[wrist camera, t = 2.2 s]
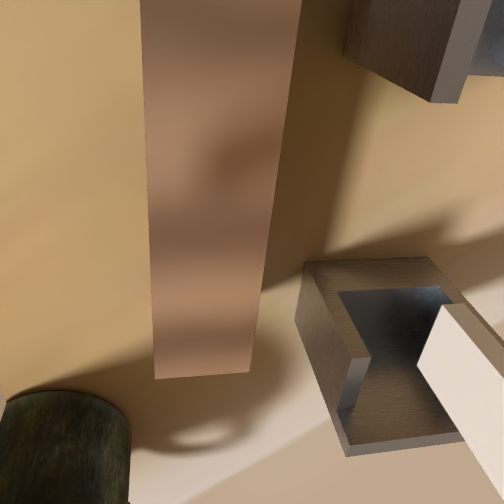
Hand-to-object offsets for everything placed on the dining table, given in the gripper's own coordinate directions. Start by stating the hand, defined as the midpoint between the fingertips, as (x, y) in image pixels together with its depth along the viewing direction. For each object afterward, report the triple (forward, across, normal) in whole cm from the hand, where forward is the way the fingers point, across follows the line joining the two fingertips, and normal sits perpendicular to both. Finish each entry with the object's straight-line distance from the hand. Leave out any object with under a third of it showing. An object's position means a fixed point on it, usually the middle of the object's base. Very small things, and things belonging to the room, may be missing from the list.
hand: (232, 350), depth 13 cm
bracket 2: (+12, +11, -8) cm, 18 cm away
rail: (+12, 0, 0) cm, 12 cm away
